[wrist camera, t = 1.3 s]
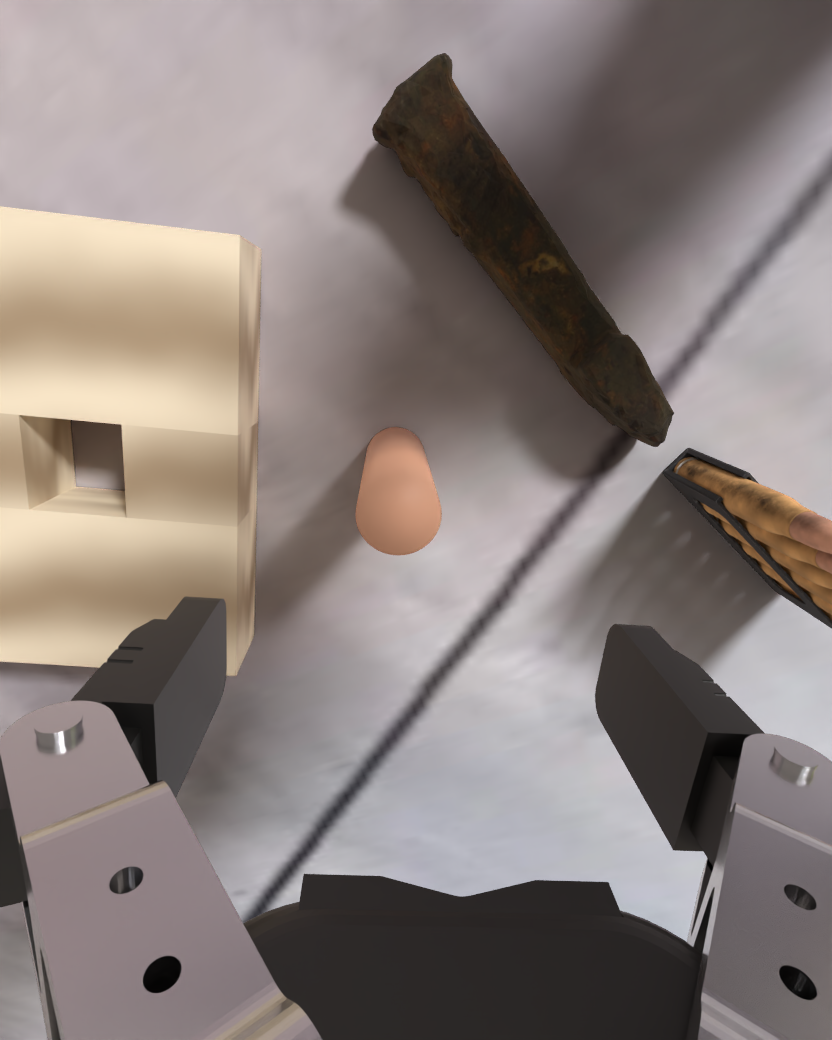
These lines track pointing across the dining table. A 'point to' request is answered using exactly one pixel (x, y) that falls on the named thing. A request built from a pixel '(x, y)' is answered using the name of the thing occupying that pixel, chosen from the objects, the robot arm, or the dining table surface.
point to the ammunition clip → (763, 529)
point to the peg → (397, 494)
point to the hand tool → (518, 248)
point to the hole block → (125, 431)
